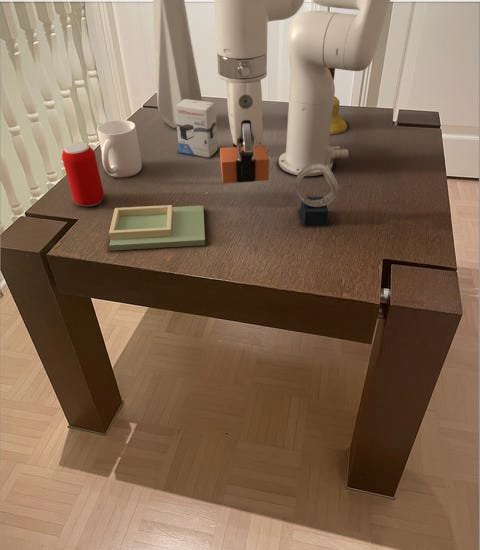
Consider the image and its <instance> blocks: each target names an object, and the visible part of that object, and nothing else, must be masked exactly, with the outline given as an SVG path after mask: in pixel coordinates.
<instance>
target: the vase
mask: <svg viewBox="0 0 480 550" xmlns="http://www.w3.org/2000/svg"><path fill="white" fill-rule="evenodd" d="M152 3H153V28H154V29H153V31H154V52H155V53H154V55H155V77H156V78H155V79H156V100H157V102H156V103H157V110H158V112H159V114H160V116H161V117H162V119H163V120H164V122H165V123H166V124H167V125H168V126H170V127H172V128H173V129H177V122H176V112H175V105H177V104H178V103H180V102H181V101H182V100H184V99H190V100H197V101H203V98H202V91H201V86H200V79H199V74H198V67H197V63H196V57H195V52H194V47H193V41H192V35H191V28H190V24H189V19H188V13H187V7H186V2H185V0H152Z"/></svg>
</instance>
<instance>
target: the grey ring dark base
mask: <svg viewBox="0 0 480 550" xmlns="http://www.w3.org/2000/svg"><path fill="white" fill-rule="evenodd" d="M319 170H320V171H322V173H323V174H322V176H323V177H324V179H325V183H326V184H327V186H328V187H329V189H330V191H329V193H328V194H327V195H326V196H306V194H305V193H304V192H303V190H302V186H301V181H302V180H303V178H305V177H306V176H305V175H307V174H308V173H309V172H313V171H319ZM336 179H337V178H336V177H335V175H334V173H333V171H332V168H331V169H330V167H329V166H328V165H327V166H325V165H324V164H320V163H318V164H317V163H315V164H310V165H308V166H306V167H305V168H303V169H302V170H301V171H300V173H299V174H298V175H296V179H295V186H296V187H295V188H296V191H297V195H298V197H299V199H300V214H301V218H302V222H303V226H304V227H310V226H311V227H314V226H315V227H318V226H320V227H321V226H322V227H323V226H327V225H328V219H329V213H330V212H329V208H328V205H329V204H330V203H331V202H333V201H334V200H335V198H336V197H337V195H338V190H340V187H339V184H338V181H337V180H336Z"/></svg>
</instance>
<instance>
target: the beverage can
mask: <svg viewBox="0 0 480 550" xmlns="http://www.w3.org/2000/svg"><path fill="white" fill-rule="evenodd" d="M61 160H62V163H63V167H64V170H65V174H66V177H67V181H68V185H69V189H70V191H71V195H72V200H73V201H74V202H75V204H76V205H78V206H81V207H86V208H91V207H95V206H97V205H98V204H100V203H102V201H103V200H104V198H105V193H104V188H103V184H102V180H101V175H100V170H99V166H98V162H97V157H96V153H95V151H94V149H93V148H92V147H91V146H90V145H89V143H85V142H72V143H69V144H67V145H66V146H65V147H63V150H62V153H61Z"/></svg>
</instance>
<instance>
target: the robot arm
mask: <svg viewBox="0 0 480 550" xmlns="http://www.w3.org/2000/svg"><path fill="white" fill-rule="evenodd" d="M311 1H312V2H313V3H314V4H316V5H317V6H321V7H327V8H334V9H345V10H355V11H358V14H353V13H342V12H337V11H335V12H334V11H326V10H325V11H324V10H307V11H303V12H301V13H298V12H299V11H300V9H301V8H302V7H303V5H304V2H305V0H214V17H215V19H214V20H215V37H216V38H215V39H216V55H217V58H216V59H217V76H218V78H219V79H221V80H222V81H225V83H226V84H225V85H226V102H227V115H228V123H229V128H230V134H231V139H232V147H237V156H238V160H236V175H237V182H236V183H251V182H253V183H254V182H256V181H255V158H254V146H255V144H258V145H262V144H263V142H264V132H263V131H264V130H263V127H264V126H263V124H264V123H263V94H262V93H263V91H262V80H263V79H265V78H266V77H267V75H268V29H269V27H268V26H269V25H268V23H269V22H275V21H276V22H277V21H285V20H288V19H290V18H292V17H293V16H295V17H294V18H293V19H291V22H290V23H289V27H288V30H287V50H288V59H289V93H288V95H289V96H288V112H287V127H286V128H287V130H286V144H285V152H283V153H282V154H281V155H280V156H279V158H278V166H279V167H280V168H281V169H282V170H283V171H284V172H286V173H288V174H291V175H295V176H298V174H299V173H300V171H301V170H302V169H303V168H305V167H306V166H308V165H310V164H315V163H317V164H318V163H320V164H324V165H325V166H327V165H328V166H329V167H330V169H331V170H332V169H333V165H334V160H335V159H347V158H348V157H349V149H347V148H345V149H344V148H343V149H341V147H340V146H339V145H335V146H330V144H329V143H330V135H331V134H330V127H331V119H332V110H333V102H334V96H335V93H336V87H335V80H334V81H333V78H332V75H331V73H330V71H329V69H328V68H335V70H343V71H349V72H350V71H351V72H362V71H365V70H366V69H367V68H369V66H370V65H371V63H372V62H373V59H374V57H375V55H376V52H377V48H378V44H379V42H380V38H381V34H382V31H383V28H384V25H385V21H386V17H387V13H388V10H389V7H390V2H391V0H311ZM297 13H298V14H297ZM296 14H297V15H296ZM241 147H243V150H242V151H241ZM321 175H323V173H322V171H320V170H319V171H313V172H309V173H308V174H307V175H305V176H304V177H317V176H321Z"/></svg>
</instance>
